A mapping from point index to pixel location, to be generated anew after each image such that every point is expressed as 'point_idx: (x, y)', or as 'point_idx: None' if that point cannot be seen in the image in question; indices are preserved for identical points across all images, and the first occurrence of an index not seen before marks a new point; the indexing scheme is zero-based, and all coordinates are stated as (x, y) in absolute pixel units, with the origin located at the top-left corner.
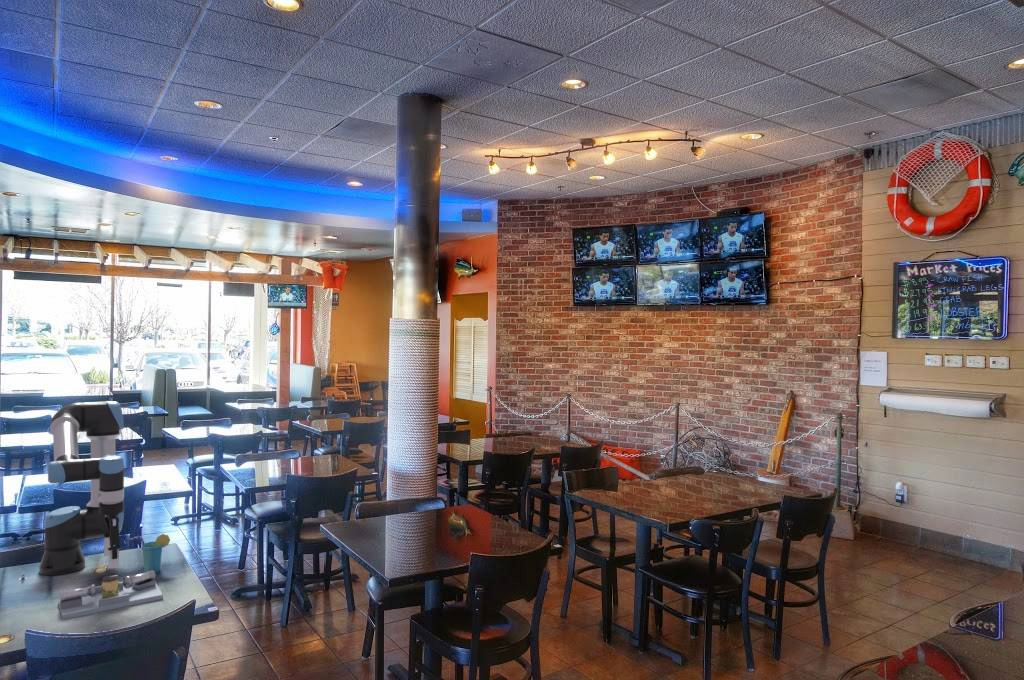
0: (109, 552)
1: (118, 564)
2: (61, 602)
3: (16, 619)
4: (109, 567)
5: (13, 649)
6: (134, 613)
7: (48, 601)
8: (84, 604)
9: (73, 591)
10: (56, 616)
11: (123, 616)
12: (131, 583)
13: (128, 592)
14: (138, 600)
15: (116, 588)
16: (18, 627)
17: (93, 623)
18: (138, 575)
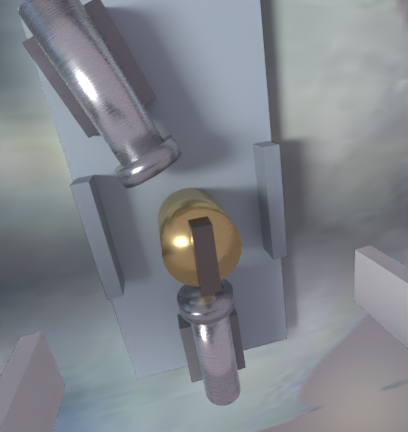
0: (43, 375)
1: (387, 257)
2: None
3: (219, 429)
4: (356, 303)
5: (405, 381)
6: (351, 117)
7: (100, 397)
8: None
9: (230, 365)
10: None
11: (356, 155)
12: (174, 139)
13: None
14: (267, 102)
15: (219, 207)
16: (279, 409)
17: (359, 241)
18: (119, 101)
